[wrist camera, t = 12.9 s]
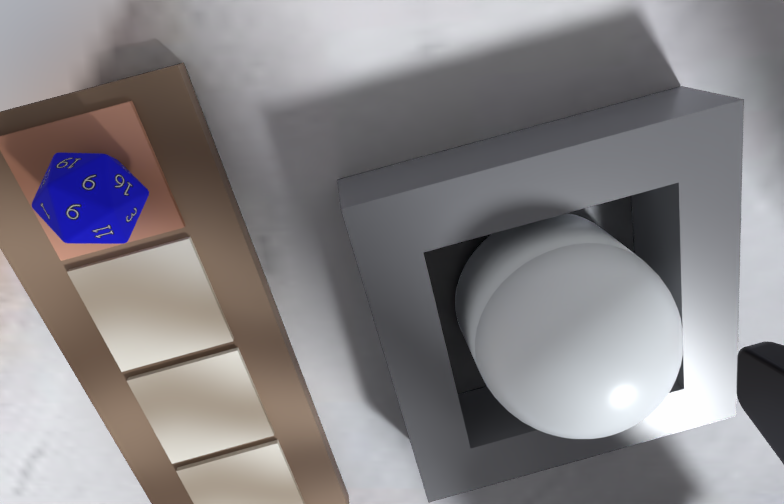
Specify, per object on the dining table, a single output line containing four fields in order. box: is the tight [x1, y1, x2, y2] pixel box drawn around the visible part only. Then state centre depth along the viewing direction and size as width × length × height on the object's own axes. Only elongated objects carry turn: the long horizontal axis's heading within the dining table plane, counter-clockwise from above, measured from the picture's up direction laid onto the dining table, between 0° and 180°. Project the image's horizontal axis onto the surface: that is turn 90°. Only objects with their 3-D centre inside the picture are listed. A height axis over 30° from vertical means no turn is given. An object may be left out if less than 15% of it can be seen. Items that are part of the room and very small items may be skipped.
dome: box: [455, 213, 684, 439], centre depth 18 cm, size 6×6×6 cm
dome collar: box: [337, 86, 744, 502], centre depth 20 cm, size 12×12×3 cm
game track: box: [0, 63, 349, 504], centre depth 20 cm, size 18×7×1 cm, turn 14°
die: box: [32, 152, 149, 244], centre depth 16 cm, size 3×3×3 cm
